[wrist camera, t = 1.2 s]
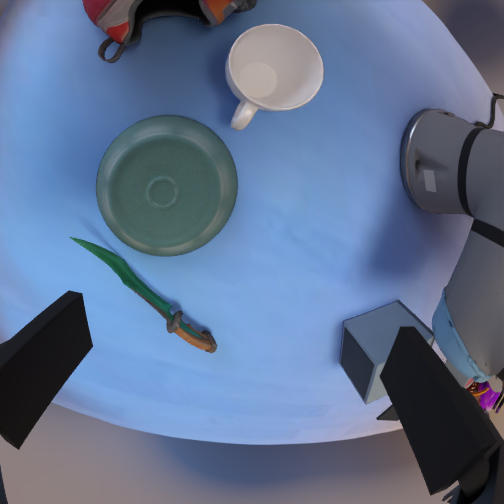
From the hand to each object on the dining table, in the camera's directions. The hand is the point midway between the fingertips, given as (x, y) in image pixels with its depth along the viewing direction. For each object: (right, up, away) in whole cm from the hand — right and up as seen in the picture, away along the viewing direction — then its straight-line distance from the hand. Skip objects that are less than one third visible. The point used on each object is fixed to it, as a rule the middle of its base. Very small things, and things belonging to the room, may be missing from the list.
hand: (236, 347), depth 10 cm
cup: (+1, +20, +14) cm, 24 cm away
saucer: (-7, +9, +14) cm, 18 cm away
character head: (+124, -85, +75) cm, 168 cm away
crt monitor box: (+21, -12, +28) cm, 37 cm away
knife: (-11, 0, +20) cm, 23 cm away
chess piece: (+108, -50, +72) cm, 139 cm away
